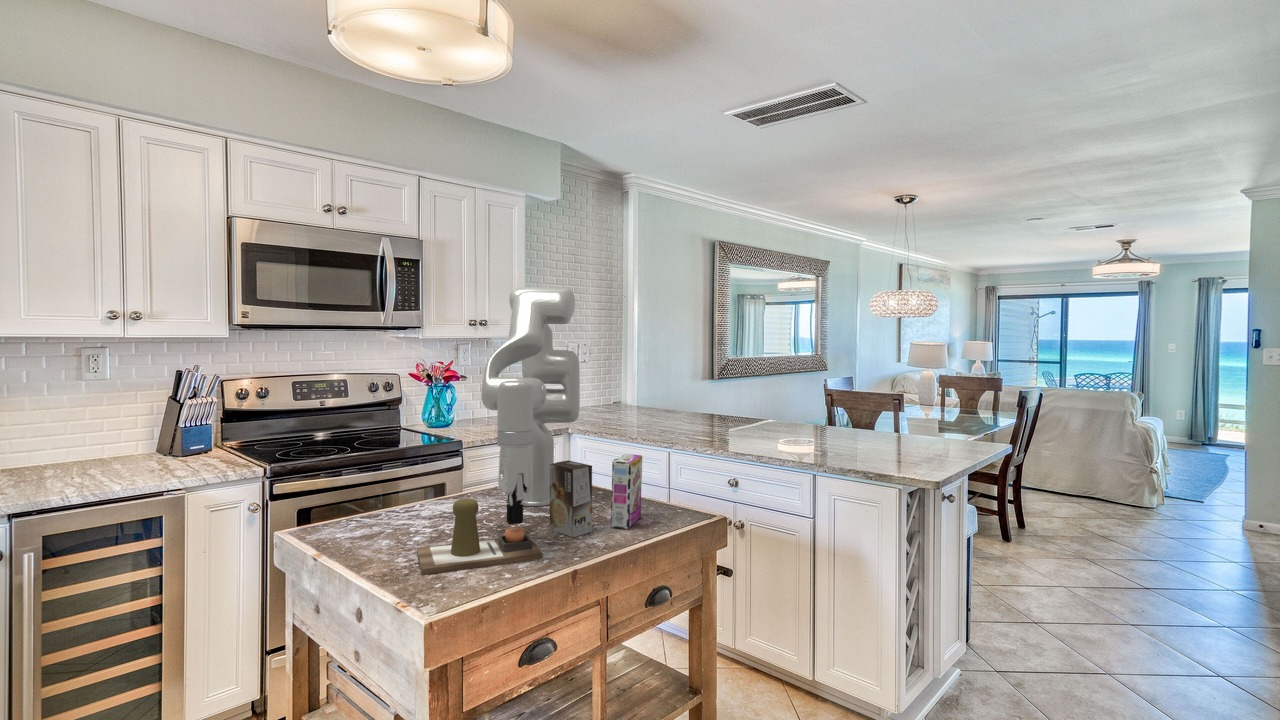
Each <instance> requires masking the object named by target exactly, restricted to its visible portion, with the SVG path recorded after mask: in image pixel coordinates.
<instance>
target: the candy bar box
mask: <svg viewBox="0 0 1280 720" xmlns="http://www.w3.org/2000/svg"><path fill="white" fill-rule="evenodd" d="M611 466H612V467H611V469H612V470H611V500H610V501H611V509H610V528H612V529H619V528H620V529H621V530H629V529H630V528H632V526H633V525H634V524H635V523H637V521H638V520H639V519H640V518H641V516H642V512H641V511H642V480H643V477H642V476H643V455H640V454H631V453H629V454H624V455H622V456H620V457H618V458H617V459H615V460H613V461H612V465H611Z"/></svg>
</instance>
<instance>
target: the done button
mask: <svg viewBox="0 0 1280 720" xmlns="http://www.w3.org/2000/svg"><path fill="white" fill-rule="evenodd" d="M524 533H525V528H523V527H520V526H519V527H517V526H515V527H509V528H506V529H505V535H504V536H505V540H506V541H507V542H520V541H523V540H524Z"/></svg>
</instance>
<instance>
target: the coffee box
mask: <svg viewBox="0 0 1280 720" xmlns="http://www.w3.org/2000/svg"><path fill="white" fill-rule="evenodd" d="M549 530H550V531H554V532H557V533H559V534H561V535H562V534H563V535H566V536H569V537H571V538H576V537H579V536H583V535H586V534H590V533H592V531H593V465H590V464H586V463H581V462H577V461H572V460H563V461H557V462H554V463H553V464H550V505H549ZM589 532H590V533H589Z"/></svg>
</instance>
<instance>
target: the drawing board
mask: <svg viewBox="0 0 1280 720" xmlns="http://www.w3.org/2000/svg"><path fill="white" fill-rule="evenodd" d="M479 544H480V552H479V553H478V554H475V555H472V556H465V557H459V556H454V555H452V554H451V547H452V543H447V544H438V545H430V546H428V545H427V546H421V547H416V549H417V550H416V554H417V558H418V563H419V567H420V571H421V575H422V576H425V575H426V576H427V575H434V574H440V573H447V572H448V573H449V572H455V571H461V570H463V571H464V570H469V569H470V570H471V569H477V568H485V567H492V566H493V567H494V566H499V565H500V566H501V565H508V564H514V563H515V564H516V563H521V562H528V561H529V562H530V561H536V560H537V559H538V560H543V559H544V552H543V551H542V550H541V549H540V548H539V547H538V545H537V544H536V542H535V541H534V540H533V539H532V538H531V536H530V535H529V534H527V533H525V532H524V540H523V541H520V542H507V541H506V540H505V535H498V536H497V537H496V538H489V539H479ZM538 560H537V561H538Z"/></svg>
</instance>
